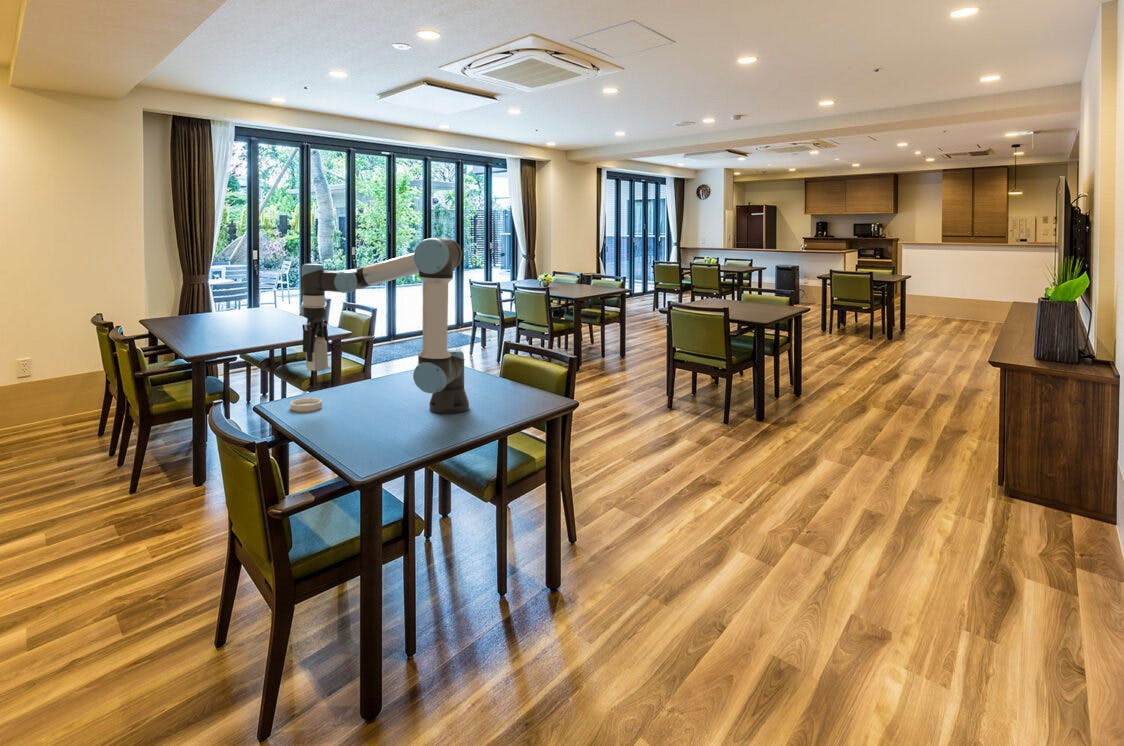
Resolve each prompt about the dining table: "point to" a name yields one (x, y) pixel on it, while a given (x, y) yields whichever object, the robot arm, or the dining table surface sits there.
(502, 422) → the dining table surface
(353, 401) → the dining table surface
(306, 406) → the bowl
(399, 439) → the dining table surface
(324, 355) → the can
